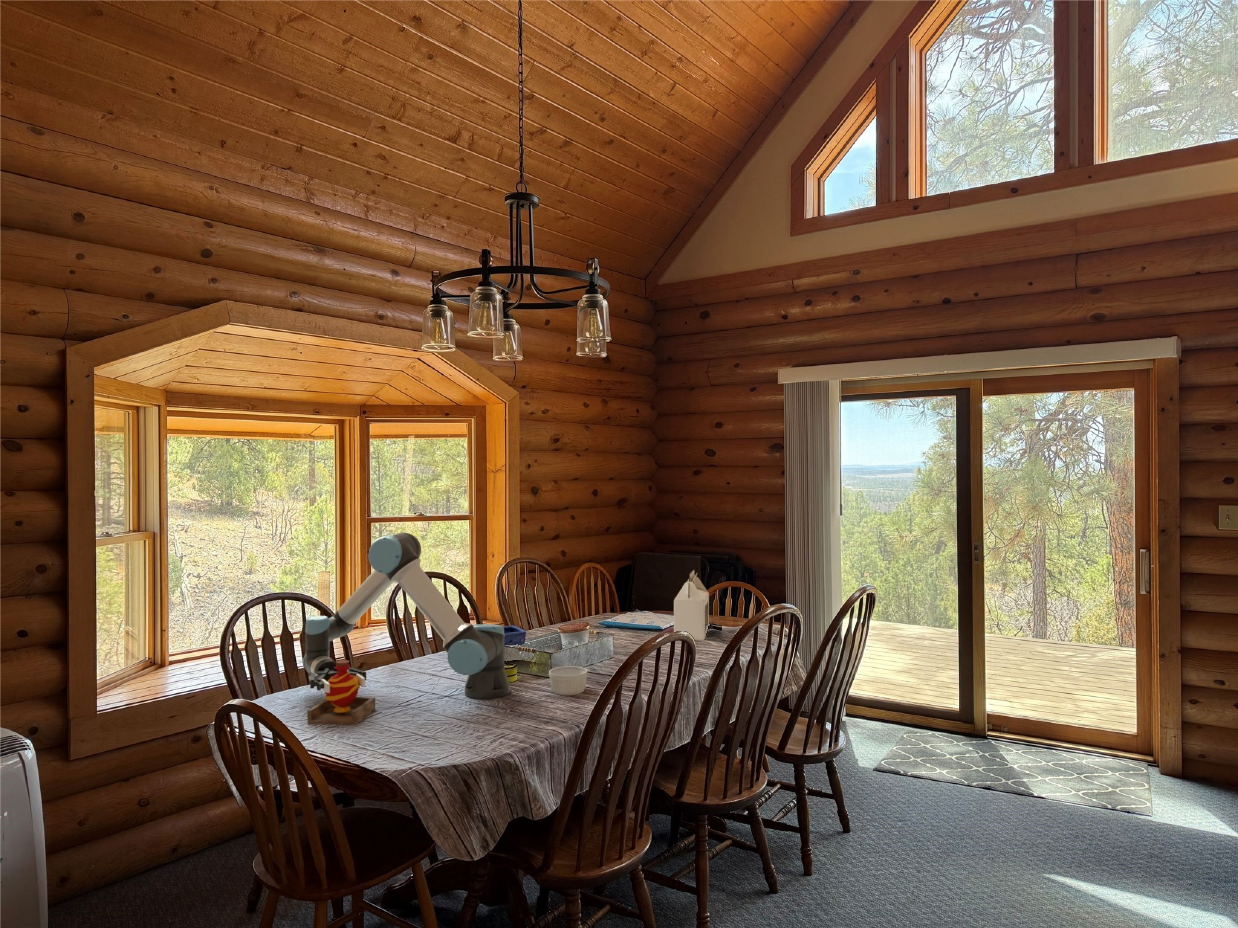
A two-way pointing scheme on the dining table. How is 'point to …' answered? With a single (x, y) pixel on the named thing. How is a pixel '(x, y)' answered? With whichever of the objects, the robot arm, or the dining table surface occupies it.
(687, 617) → the gable box
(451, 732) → the dining table surface
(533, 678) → the dining table surface
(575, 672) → the ramekin
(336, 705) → the potion bottle
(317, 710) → the u rest
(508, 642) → the flower pot
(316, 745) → the dining table surface
